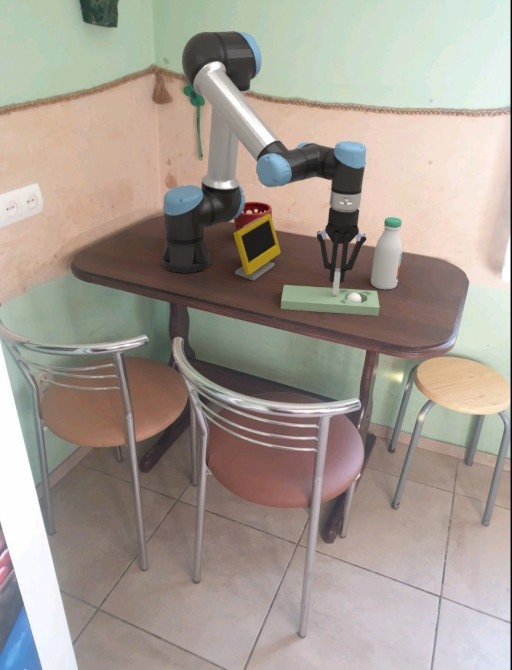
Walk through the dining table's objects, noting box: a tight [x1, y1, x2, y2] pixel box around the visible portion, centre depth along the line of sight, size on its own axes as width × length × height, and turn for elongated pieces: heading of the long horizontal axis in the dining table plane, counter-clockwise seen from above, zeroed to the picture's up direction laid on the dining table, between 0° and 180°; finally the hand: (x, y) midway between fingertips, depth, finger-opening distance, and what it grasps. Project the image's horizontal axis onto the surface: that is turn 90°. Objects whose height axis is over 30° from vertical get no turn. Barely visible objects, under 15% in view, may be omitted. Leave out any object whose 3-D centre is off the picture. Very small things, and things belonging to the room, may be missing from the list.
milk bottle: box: [370, 216, 404, 291], centre depth 155 cm, size 8×8×20 cm
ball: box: [347, 293, 362, 303], centre depth 147 cm, size 4×4×4 cm
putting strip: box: [280, 284, 381, 317], centre depth 148 cm, size 26×10×2 cm, turn 83°
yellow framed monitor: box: [233, 214, 281, 282], centre depth 164 cm, size 20×8×16 cm, turn 151°
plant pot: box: [233, 201, 273, 232], centre depth 187 cm, size 13×13×12 cm
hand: (335, 292), depth 147 cm, fingers closed
